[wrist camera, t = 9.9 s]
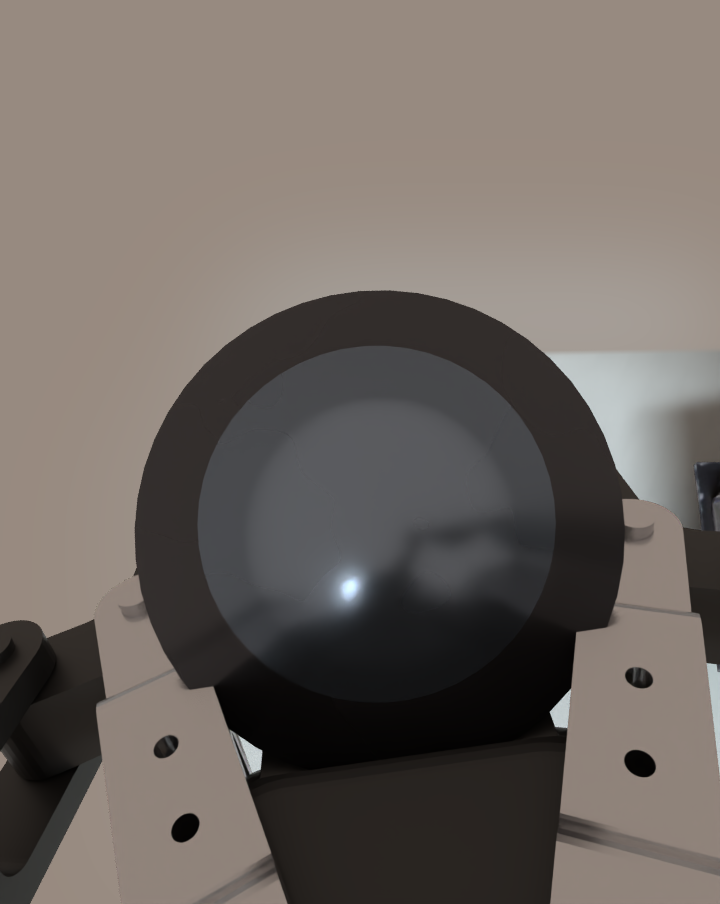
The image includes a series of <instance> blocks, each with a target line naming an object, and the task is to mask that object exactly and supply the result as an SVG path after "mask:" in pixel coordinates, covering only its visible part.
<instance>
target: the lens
mask: <svg viewBox="0 0 720 904" xmlns="http://www.w3.org/2000/svg"><path fill="white" fill-rule="evenodd" d="M624 542H625V522H624V511H623V501H622V494H621V489H620V485H619V480H618V476H617V472H616V467H615V464H614V461H613V458H612V456H611V453H610V450H609V447H608V445H607V442H606V439H605V437H604V434H603V432H602V430H601V429H600V427H599V425H598V423H597V421H596V419H595V417H594V415H593V413H592V412H591V410H590V408H589V406H588V405H587V403H586V402H585V400H584V399H583V398H582V396H581V395H580V393H579V392H578V391H577V389H576V388H575V386H574V385H573V383H572V382H571V381H570V380H569V379H568V378H567V376H566V375H565V374H564V373H563V372H562V371H561V370H560V369H559V368H558V367H557V366H556V364H555V363H554V362H553V361H552V360H551V359H550V358H549V357H548V356H547V355H545V354H544V353H543V352H542V351H541V350H539V349H538V348H537V347H536V346H535V345H534V344H532V343H531V342H530V341H529V340H528V339H526V338H525V337H523V336H521V335H520V334H519V333H517V332H516V331H514V330H512V329H511V328H509V327H508V326H506V325H505V324H503V323H502V322H500V321H498V320H496V319H494V318H492V317H489V316H488V315H486V314H484V313H482V312H479V311H477V310H475V309H473V308H470V307H467V306H464V305H461V304H458V303H455V302H453V301H450V300H447V299H442V298H438V297H433V296H428V295H424V294H419V293H409V292H398V291H358V292H351V293H344V294H337V295H331V296H327V297H323V298H319V299H316V300H312V301H309V302H305V303H301V304H299V305H297V306H294V307H292V308H289V309H287V310H284V311H282V312H279V313H277V314H274V315H273V316H271V317H269V318H267V319H265V320H264V321H262V322H260V323H258V324H256V325H255V326H253V327H251V328H249V329H248V330H246V331H245V332H244V333H242V334H241V335H239V336H238V337H237V338H235V339H234V340H232V341H231V342H230V343H228V344H227V345H225V346H224V347H223V348H222V349H221V350H220V351H219V352H218V353H217V354H216V355H214V356H213V357H212V358H211V359H210V360H209V361H208V362H207V363H206V364H205V365H204V366H203V367H202V368H201V369H200V370H199V372H198V373H197V374H196V375H195V376H194V377H193V379H192V380H191V381H190V382H189V383H188V384H187V385H186V387H185V388H184V389H183V391H182V392H181V394H180V395H179V397H178V399H177V400H176V401H175V403H174V404H173V406H172V407H171V409H170V410H169V412H168V414H167V416H166V418H165V420H164V422H163V424H162V426H161V427H160V429H159V432H158V433H157V435H156V438H155V439H154V442H153V445H152V448H151V451H150V453H149V456H148V459H147V462H146V465H145V468H144V472H143V476H142V481H141V485H140V489H139V494H138V500H137V510H136V521H135V548H136V564H137V570H138V576H139V582H140V588H141V593H142V596H143V600H144V603H145V606H146V610H147V613H148V616H149V619H150V623H151V625H152V627H153V629H154V631H155V634H156V636H157V638H158V640H159V642H160V645H161V647H162V649H163V651H164V653H165V655H166V656H167V658H168V659H169V661H170V663H171V664H172V666H173V667H174V669H175V670H176V672H177V674H178V675H179V677H180V678H181V680H182V681H183V682H184V684H185V685H186V686H187V687H188V688H189V690H192V689H199V688H206V687H212V686H213V687H214V690H215V693H216V695H217V698H218V700H219V703H220V706H221V708H222V711H223V714H224V716H225V719H226V722H227V724H228V727H229V729H230V730H231V731H233V732H234V733H236V734H237V735H239V736H240V737H242V738H243V739H245V740H246V741H248V742H249V743H251V744H252V745H253V746H255V747H256V748H258V749H261V750H263V751H265V752H267V753H269V754H271V755H273V756H275V757H277V758H279V759H281V760H283V761H285V762H287V763H290V764H293V765H296V766H299V767H302V768H305V769H309V770H314V769H321V768H328V767H335V766H342V765H349V764H355V763H362V762H369V761H376V760H383V759H390V758H397V757H404V756H411V755H418V754H425V753H432V752H439V751H446V750H453V749H460V748H467V747H474V746H481V745H488V744H495V743H502V742H509V741H513V740H514V739H516V738H518V737H519V736H521V735H522V734H524V733H525V732H526V731H527V730H528V729H530V728H531V727H532V726H533V725H534V724H536V723H537V722H538V721H539V720H541V719H542V718H543V717H544V716H545V715H547V714H548V713H549V712H550V711H551V710H552V709H553V708H554V706H555V705H556V704H557V703H558V702H559V701H560V700H561V699H562V698H563V697H564V695H565V694H566V693H567V692H568V691H569V690H570V689H571V686H572V675H573V664H574V653H575V642H576V632H581V631H588V630H594V629H601V628H607V626H608V623H609V620H610V617H611V614H612V611H613V608H614V605H615V602H616V599H617V595H618V590H619V585H620V579H621V574H622V568H623V563H624Z"/></svg>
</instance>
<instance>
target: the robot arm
mask: <svg viewBox="0 0 720 904" xmlns="http://www.w3.org/2000/svg"><path fill="white" fill-rule="evenodd" d="M616 472H617V476H618V480H619V485H620V489H621V494H622V501H623V511H624V522H625V542H624V563H623V568H622V574H621V579H620V585H619V590H618V595H617V599H616V602H615V605H614V608H613V611H612V614H611V617H610V620H609V623H608V626H607V628H601V629H594V630H588V631H581V632H576V642H575V653H574V664H573V675H572V686H571V697H570V708H569V719H568V728H561V727H555V726H554V723H553V720H552V717H551V715H550V712H549V713H548V714H547V715H545V716H544V717H543V718H542V719H541V720H539V721H538V722H537V723H536V724H534V725H533V726H532V727H531V728H530V729H528V730H527V731H526V732H525V733H524V734H522V735H521V736H519V737H518V738H516V739H514V740H513V741H509V742H502V743H495V744H488V745H481V746H474V747H467V748H460V749H453V750H446V751H439V752H432V753H425V754H418V755H411V756H404V757H397V758H390V759H383V760H376V761H369V762H362V763H355V764H349V765H342V766H335V767H328V768H321V769H314V770H309V769H305V768H302V767H299V766H296V765H293V764H290V763H287V762H285V761H283V760H281V759H279V758H277V757H275V756H273V755H271V754H269V753H267V752H265V751H262V763H261V770H258V771H256V772H254V773H252V771H251V768H250V765H249V763H248V760H247V757H246V754H245V752H244V749H243V746H242V743H241V741H240V738H239V735H237V734H236V733H234V732H233V731H231V730H230V729H229V727H228V724H227V722H226V719H225V716H224V714H223V711H222V708H221V706H220V703H219V700H218V698H217V695H216V693H215V690H214V687H213V686H212V687H206V688H199V689H192V690H189V688H188V687H187V686H186V685H185V684H184V682H183V681H182V680H181V678H180V677H179V675H178V674H177V672H176V670H175V669H174V667H173V666H172V664H171V663H170V661H169V659H168V658H167V656H166V655H165V653H164V651H163V649H162V647H161V645H160V642H159V640H158V638H157V636H156V634H155V631H154V629H153V627H152V625H151V623H150V619H149V616H148V613H147V610H146V606H145V603H144V600H143V596H142V593H141V588H140V582H139V576H138V570H137V568H136V571H135V573H134V576H133V577H131V578H128V579H126V580H124V581H123V582H121V583H119V584H118V585H116V586H115V587H113V588H112V589H111V590H110V591H108V592H107V593H106V594H105V596H104V597H103V598H102V599H101V600H100V602H99V603H98V605H97V607H96V609H95V613H94V619H93V620H92V621H89V622H87V623H85V624H82V625H80V626H77V627H75V628H72V629H70V630H67V631H64V632H62V633H59V634H56V635H54V636H51V637H49V638H46V636H45V635H44V633H43V631H42V629H41V628H40V627H39V626H38V625H37V624H35V623H34V622H31V621H24V620H23V621H22V620H20V621H13V622H8V623H4V624H1V625H0V751H1V752H2V753H3V755H4V756H5V757H6V759H7V762H6V764H5V765H4V767H3V768H2V770H1V771H0V904H30V903H31V901H32V899H33V897H34V895H35V893H36V891H37V889H38V887H39V885H40V883H41V881H42V879H43V877H44V875H45V873H46V871H47V869H48V867H49V865H50V863H51V861H52V859H53V857H54V855H55V853H56V851H57V849H58V847H59V845H60V843H61V841H62V839H63V837H64V835H65V834H66V832H67V829H68V828H69V826H70V824H71V822H72V820H73V818H74V815H75V814H76V812H77V809H78V808H79V805H80V804H81V802H82V800H83V798H84V796H85V794H86V792H87V789H88V788H89V786H90V784H91V782H92V780H93V778H94V776H95V774H96V772H97V770H98V768H99V766H100V764H101V762H102V761H103V768H104V776H105V783H106V791H107V798H108V807H109V814H110V821H111V829H112V837H113V844H114V853H115V860H116V868H117V875H118V883H119V891H120V898H121V904H720V775H719V767H718V758H717V749H716V741H715V732H714V724H713V715H712V707H711V698H710V689H709V681H708V672H707V664H706V663H711V664H719V665H720V531H704V530H694V529H688V528H683V527H682V524H681V522H680V520H679V519H678V518H677V517H676V515H675V514H673V513H672V512H671V511H669V510H668V509H666V508H664V507H662V506H660V505H658V504H655V503H652V502H648V501H644V500H639V499H638V497H637V496H636V495H635V493H634V492H633V491H632V489H631V488H630V487H629V486H628V484H627V483H626V482H625V480H624V479H623V478H622V476H621V475H620V474H619V472H618V471H617V470H616Z"/></svg>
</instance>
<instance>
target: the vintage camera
mask: <svg viewBox="0 0 720 904" xmlns="http://www.w3.org/2000/svg"><path fill="white" fill-rule="evenodd" d="M694 472H695V480H696V488H697V495H698V503H699V511H700V519H701V528H702V530H704V531H720V462H696V463H695V464H694ZM717 670H718V672H720V665H719V664H717Z"/></svg>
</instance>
